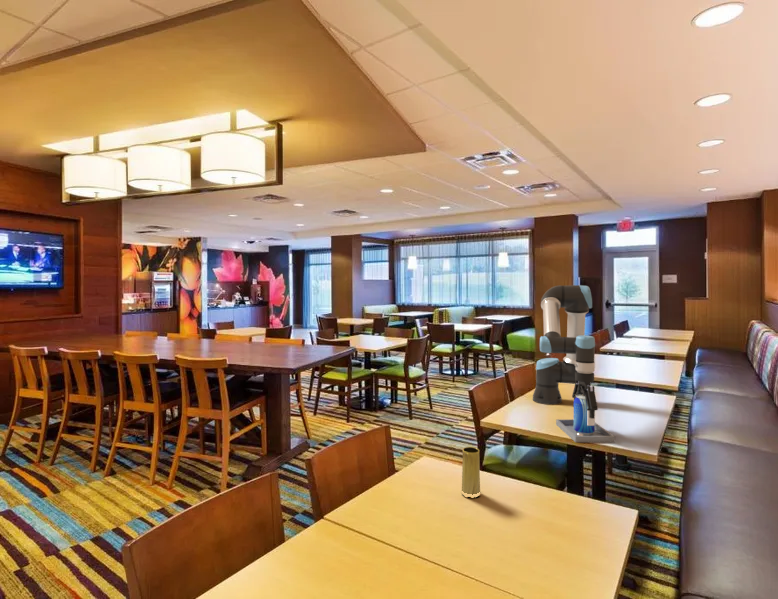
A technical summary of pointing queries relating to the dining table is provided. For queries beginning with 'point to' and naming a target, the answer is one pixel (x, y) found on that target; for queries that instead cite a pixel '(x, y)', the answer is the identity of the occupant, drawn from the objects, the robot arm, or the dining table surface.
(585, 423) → the beer can
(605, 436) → the tray
